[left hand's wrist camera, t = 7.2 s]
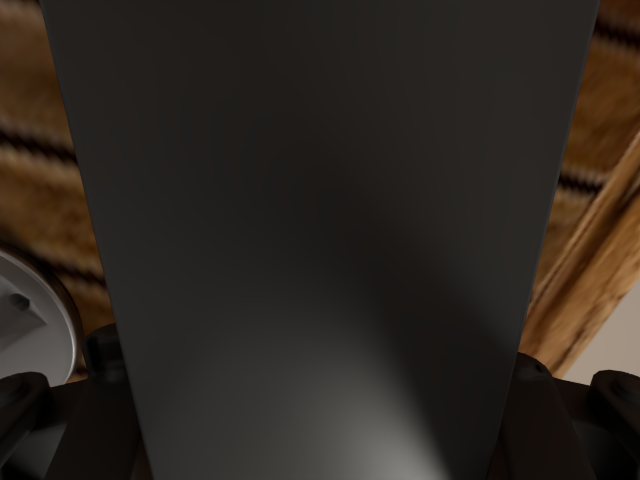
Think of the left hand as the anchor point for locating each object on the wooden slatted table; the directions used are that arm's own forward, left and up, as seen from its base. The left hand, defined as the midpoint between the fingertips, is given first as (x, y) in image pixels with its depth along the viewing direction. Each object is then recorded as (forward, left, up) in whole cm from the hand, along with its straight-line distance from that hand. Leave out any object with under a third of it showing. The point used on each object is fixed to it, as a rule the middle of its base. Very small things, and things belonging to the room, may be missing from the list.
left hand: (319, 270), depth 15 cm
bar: (-2, +7, -1) cm, 7 cm away
